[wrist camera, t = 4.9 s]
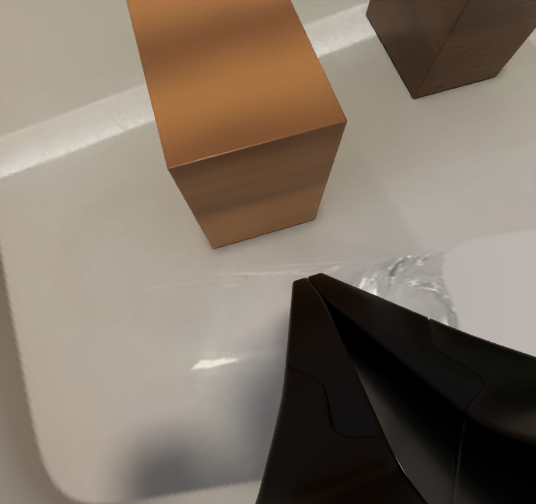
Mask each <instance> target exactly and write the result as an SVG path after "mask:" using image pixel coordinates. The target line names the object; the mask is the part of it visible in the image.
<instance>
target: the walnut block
mask: <svg viewBox="0 0 536 504" xmlns="http://www.w3.org/2000/svg"><path fill="white" fill-rule="evenodd" d="M366 15H367V16H368V18H369V20H370V22H371V24H372V25H373V27H374V29H375V31H376V32H377V34H378V36H379V38H380V40H381V41H382V43H383V45H384V47H385V48H386V50H387V52H388V54H389V55H390V57H391V59H392V61H393V63H394V64H395V66H396V68H397V70H398V71H399V73H400V75H401V77H402V79H403V80H404V82H405V84H406V86H407V87H408V89H409V91H410V93H411V95H412V96H413V98H417V97H421V96H425V95H428V94H432V93H436V92H439V91H443V90H447V89H451V88H454V87H458V86H462V85H465V84H469V83H473V82H477V81H480V80H484V79H488V78H491V77H495V76H497V74H498V73H499V72H500V71H501V70H502V68H503V67H504V66H505V65H506V63H507V62H508V61H509V60H510V59H511V57H512V56H513V55H514V54H515V52H516V51H517V50H518V49H519V48H520V46H521V45H522V44H523V43H524V41H525V40H526V39H527V38H528V37H529V35H530V34H531V33H532V32H533V30H534V29H535V28H536V0H370V2H369V5H368V9H367V12H366Z"/></svg>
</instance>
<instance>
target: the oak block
mask: <svg viewBox="0 0 536 504" xmlns="http://www.w3.org/2000/svg"><path fill="white" fill-rule="evenodd" d="M126 1H127V5H128V9H129V14H130V18H131V22H132V26H133V30H134V34H135V38H136V42H137V46H138V50H139V54H140V59H141V63H142V67H143V71H144V75H145V79H146V83H147V87H148V91H149V95H150V99H151V103H152V108H153V112H154V116H155V120H156V124H157V128H158V132H159V136H160V140H161V144H162V148H163V153H164V157H165V161H166V165H167V169H168V171H169V172H170V174H171V176H172V178H173V179H174V181H175V183H176V185H177V186H178V188H179V190H180V192H181V193H182V195H183V197H184V199H185V200H186V202H187V204H188V206H189V207H190V209H191V211H192V213H193V214H194V216H195V218H196V220H197V222H198V223H199V225H200V227H201V229H202V230H203V232H204V234H205V236H206V237H207V239H208V241H209V243H210V244H211V246H212V248H213V249H214V248H218V247H221V246H225V245H228V244H231V243H235V242H238V241H242V240H245V239H248V238H252V237H255V236H259V235H262V234H265V233H269V232H272V231H276V230H279V229H282V228H286V227H289V226H292V225H296V224H299V223H303V222H306V221H309V220H313V219H315V217H316V214H317V211H318V208H319V205H320V202H321V199H322V195H323V192H324V189H325V186H326V183H327V180H328V177H329V174H330V171H331V168H332V165H333V162H334V159H335V156H336V153H337V150H338V147H339V144H340V141H341V138H342V135H343V132H344V129H345V126H346V123H347V120H346V117H345V115H344V113H343V111H342V109H341V107H340V105H339V103H338V100H337V98H336V96H335V94H334V92H333V90H332V88H331V85H330V83H329V81H328V79H327V77H326V75H325V73H324V71H323V68H322V66H321V64H320V62H319V60H318V58H317V56H316V54H315V51H314V49H313V47H312V45H311V43H310V41H309V39H308V37H307V34H306V32H305V30H304V28H303V26H302V24H301V22H300V20H299V17H298V15H297V13H296V11H295V9H294V7H293V5H292V3H291V0H126Z"/></svg>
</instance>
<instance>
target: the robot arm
mask: <svg viewBox="0 0 536 504" xmlns="http://www.w3.org/2000/svg"><path fill="white" fill-rule="evenodd" d="M285 366H286V367H285V373H284V383H283V390H282V398H281V403H280V408H279V413H278V418H277V422H276V426H275V430H274V434H273V438H272V443H271V447H270V451H269V455H268V459H267V463H266V467H265V471H264V475H263V479H262V483H261V487H260V491H259V494H258V497H257V500H256V504H536V357H534V356H531V355H528V354H525V353H522V352H519V351H516V350H513V349H510V348H507V347H504V346H501V345H498V344H496V343H493V342H490V341H487V340H484V339H481V338H478V337H475V336H473V335H470V334H467V333H465V332H462V331H460V330H457V329H455V328H452V327H450V326H447V325H445V324H442V323H440V322H438V321H435V320H433V319H429V320H428V318H427V317H425V316H423V315H421V314H418V313H416V312H413V311H411V310H409V309H406V308H404V307H402V306H399V305H397V304H394V303H392V302H390V301H387V300H385V299H383V298H380V297H378V296H375V295H373V294H371V293H368V292H366V291H363V290H361V289H359V288H356V287H354V286H352V285H349V284H347V283H344V282H342V281H340V280H337V279H335V278H332V277H330V276H328V275H325V274H323V273H319V274H316V275H313V276H309V277H308V279H307V278H303V279H300V280H296V281H294V282H293V286H292V297H291V308H290V319H289V330H288V342H287V353H286V364H285ZM396 458H397V459H396ZM397 460H398V461H397ZM398 462H399V463H400V465H401V467H402V468H403V470H404V471H403V470H402V468H401V467H400V465H399V463H398ZM404 472H405V473H406V474H405V473H404ZM406 475H407V476H406Z"/></svg>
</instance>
